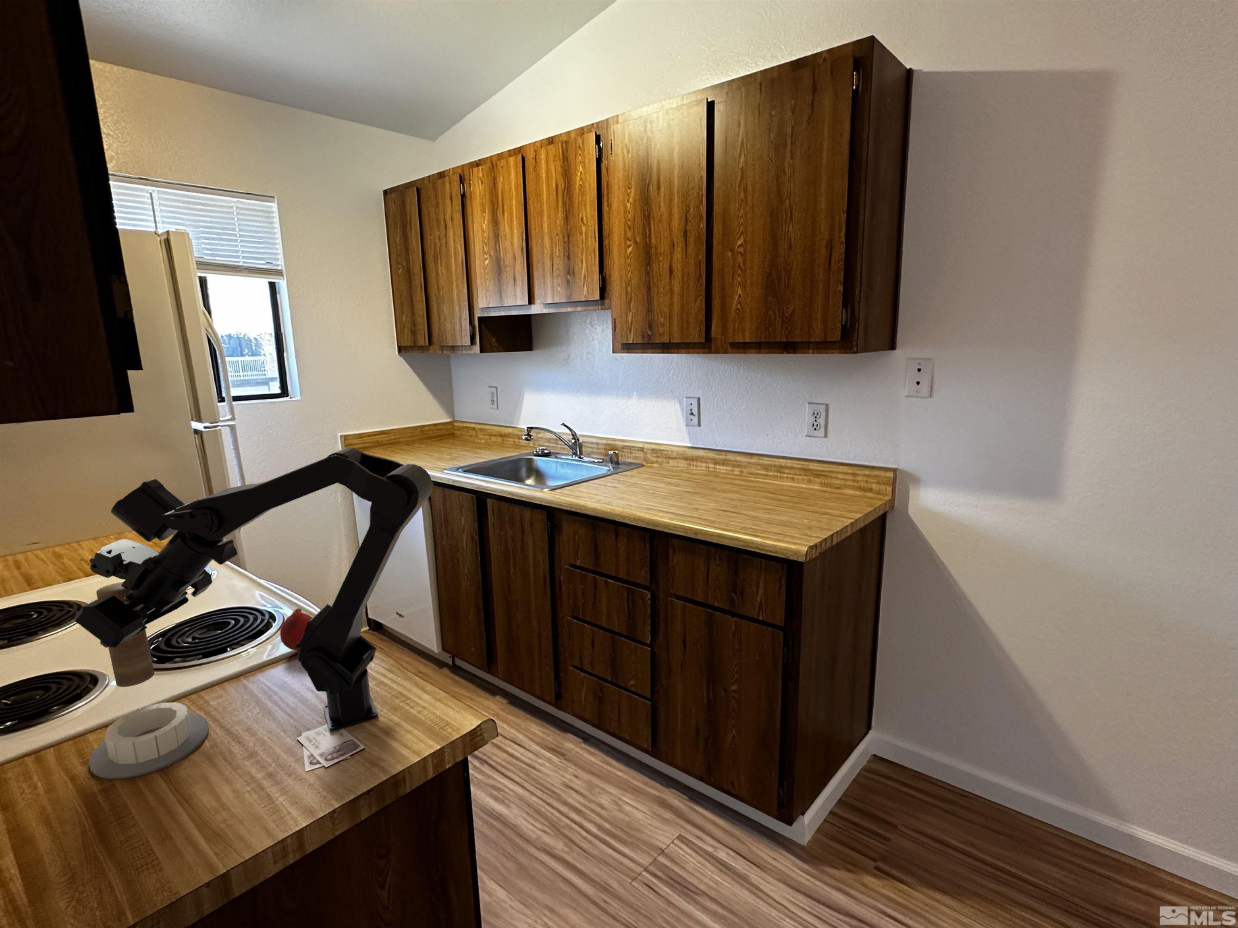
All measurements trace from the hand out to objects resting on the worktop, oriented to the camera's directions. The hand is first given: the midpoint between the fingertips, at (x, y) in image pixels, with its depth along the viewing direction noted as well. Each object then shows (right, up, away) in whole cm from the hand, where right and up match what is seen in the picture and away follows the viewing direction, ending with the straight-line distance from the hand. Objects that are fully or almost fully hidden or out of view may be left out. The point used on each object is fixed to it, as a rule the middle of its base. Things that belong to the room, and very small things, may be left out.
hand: (117, 636), depth 89 cm
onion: (+16, -8, +20) cm, 27 cm away
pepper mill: (+1, -6, +1) cm, 7 cm away
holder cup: (+8, -14, -4) cm, 16 cm away
